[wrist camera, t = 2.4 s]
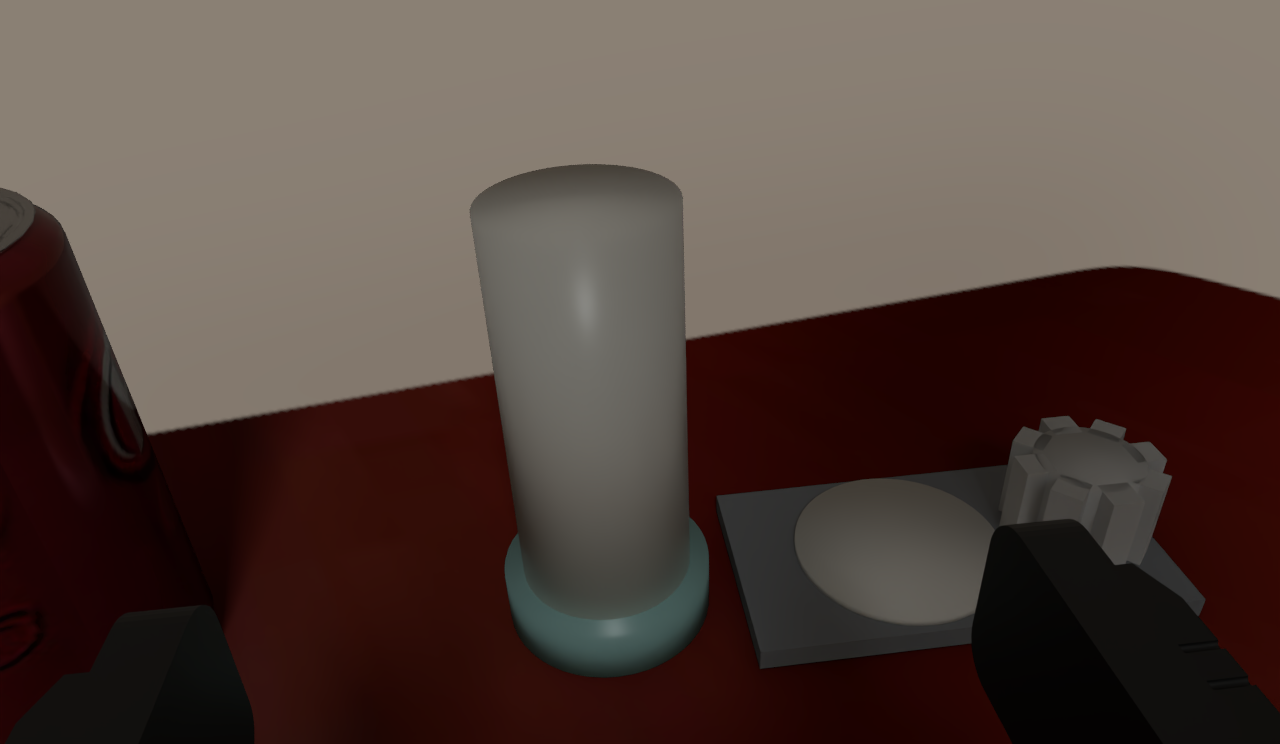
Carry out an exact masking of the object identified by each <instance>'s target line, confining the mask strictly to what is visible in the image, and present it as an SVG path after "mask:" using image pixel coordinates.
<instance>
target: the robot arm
mask: <svg viewBox="0 0 1280 744" xmlns="http://www.w3.org/2000/svg"><path fill="white" fill-rule="evenodd" d="M971 643H972V652H973V658H974V663H975V667H976V670H977V673H978V677H979V679H980V682H981V684H982V686H983V688H984V690H985V692H986V694H987V696H988V698H989V700H990V702H991V704H992V706H993V707H994V709H995V711H996V713H997V715H998V717H999V719H1000V721H1001V723H1002V724H1003V726H1004V728H1005V730H1006V732H1007V734H1008V736H1009V738H1010V740H1011V741H1012V743H1013V744H1280V713H1279V712H1278V711H1277V709H1276V708H1275V707H1274V706H1273V705H1272V704H1271V702H1270V701H1269V700H1268V699H1267V698H1266V696H1265V695H1264V694H1263V693H1262V692H1261V690H1260V689H1259V688H1258V687H1257V686H1256V685H1253V686H1251V685H1250V683H1249V681H1248V675H1247V674H1246V673H1245V671H1244V670H1243V669H1242V668H1241V667H1240V666H1239V664H1238V663H1237V662H1236V661H1235V660H1234V658H1233V657H1232V656H1231V655H1230V654H1229V652H1228V651H1227V650H1226V649H1220V648H1219V646H1218V639H1217V638H1216V637H1215V636H1214V635H1213V633H1212V632H1211V631H1210V630H1209V629H1208V628H1207V626H1206V625H1205V624H1204V623H1203V622H1202V620H1201V619H1200V618H1199V617H1198V616H1197V614H1196V613H1195V612H1194V611H1193V610H1192V609H1191V607H1190V606H1189V605H1188V604H1187V603H1186V601H1185V600H1184V599H1183V598H1182V597H1181V596H1179V595H1178V594H1176V593H1175V592H1174V591H1172V590H1171V589H1169V588H1168V587H1166V586H1165V585H1163V584H1162V583H1160V582H1159V581H1158V580H1156V579H1155V578H1153V577H1152V576H1150V575H1149V574H1147V573H1146V572H1145V571H1143V570H1142V569H1140V568H1139V567H1137V566H1136V565H1134V564H1133V563H1129V564H1120V565H1114V563H1113V562H1112V561H1111V559H1110V558H1109V557H1108V556H1107V554H1106V553H1105V552H1104V551H1103V549H1102V548H1101V547H1100V546H1099V544H1098V543H1097V542H1096V540H1095V539H1094V538H1093V537H1092V535H1091V534H1090V533H1089V532H1088V530H1087V529H1086V528H1085V527H1084V526H1083V525H1082V524H1080V523H1079V522H1078V521H1076V520H1074V519H1060V520H1050V521H1041V522H1031V523H1021V524H1011V525H1003V526H999V527H998V528H997V529H996V530H995V531H994V533H993V535H992V537H991V541H990V545H989V550H988V554H987V559H986V564H985V568H984V573H983V578H982V582H981V587H980V591H979V596H978V601H977V605H976V610H975V615H974V619H973V624H972V632H971ZM5 744H254V721H253V713H252V709H251V705H250V702H249V699H248V697H247V694H246V691H245V689H244V686H243V683H242V681H241V678H240V675H239V673H238V670H237V668H236V665H235V662H234V660H233V657H232V654H231V652H230V649H229V646H228V644H227V641H226V639H225V636H224V633H223V631H222V628H221V625H220V623H219V620H218V618H217V616H216V614H215V612H214V611H213V609H212V608H211V607H209V606H207V605H197V606H187V607H177V608H168V609H158V610H148V611H138V612H129V613H125V614H123V615H122V616H120V617H119V618H118V619H117V620H116V622H115V623H114V625H113V626H112V628H111V630H110V632H109V634H108V636H107V638H106V640H105V642H104V644H103V646H102V648H101V650H100V652H99V654H98V656H97V658H96V660H95V662H94V664H93V666H92V668H91V670H90V672H85V673H75V674H66V675H63V676H62V677H61V678H60V679H59V680H58V681H57V682H56V683H55V684H54V685H53V686H52V687H51V688H50V689H49V690H48V691H47V692H46V693H45V694H44V695H43V696H42V697H41V698H40V699H39V700H38V701H37V702H36V703H35V704H34V705H33V706H32V707H31V708H30V709H29V710H28V711H27V712H26V713H25V715H24V716H23V717H22V718H21V719H20V720H19V721H18V722H17V723H16V724H15V726H14V727H13V729H12V731H11V733H10V735H9V737H8V738H7V740H6V742H5Z"/></svg>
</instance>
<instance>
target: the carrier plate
mask: <svg viewBox="0 0 1280 744" xmlns="http://www.w3.org/2000/svg"><path fill="white" fill-rule="evenodd" d="M1125 432H1126V428H1123V427H1120V426H1117V425H1114V424H1110V423H1107V422H1104V421H1101V420H1098V419H1096V420H1095V421H1094V423H1093V425H1092V426H1091V428H1082V427H1078V426H1077V425H1076V423H1075V422H1074V421H1073V420H1072V419H1071V418H1070V417H1069V416H1061V417H1052V418H1042V419H1041V423H1040V427H1039V432H1038V431H1035V430H1032V429H1029V428H1026V427H1023V428H1022V429H1021V430H1020V432H1019V433H1018V435H1017V436H1016V437H1015V439H1014V440H1013V443H1012V448H1011V453H1010V457H1009V462H1008V465H1001V466H992V467H983V468H973V469H964V470H955V471H945V472H936V473H926V474H917V475H908V476H898V477H889V478H880V479H879V478H877V479H864V480H857V481H852V482H842V483H833V484H823V485H814V486H805V487H795V488H786V489H777V490H767V491H758V492H748V493H739V494H730V495H720V496H717V514H718V518H719V522H720V525H721V529H722V533H723V536H724V540H725V543H726V547H727V551H728V554H729V558H730V562H731V565H732V569H733V572H734V576H735V580H736V583H737V587H738V590H739V594H740V598H741V601H742V605H743V609H744V612H745V616H746V619H747V623H748V627H749V630H750V634H751V638H752V641H753V645H754V648H755V652H756V656H757V659H758V663H759V666H760V669H763V668H771V667H779V666H787V665H796V664H804V663H812V662H821V661H829V660H837V659H846V658H854V657H862V656H870V655H879V654H887V653H895V652H904V651H912V650H920V649H928V648H937V647H945V646H953V645H962V644H970V643H971V632H972V624H973V619H974V615H975V610H976V605H977V601H978V596H979V591H980V587H981V582H982V578H983V573H984V568H985V564H986V559H987V554H988V550H989V545H990V541H991V537H992V535H993V533H994V531H995V530H996V529H997V528H998V527H999V526H1003V525H1011V524H1021V523H1031V522H1041V521H1050V520H1060V519H1074V520H1076V521H1078V522H1079V523H1080V524H1082V525H1083V526H1084V527H1085V528H1086V529H1087V530H1088V532H1089V533H1090V534H1091V535H1092V537H1093V538H1094V539H1095V540H1096V542H1097V543H1098V544H1099V546H1100V547H1101V548H1102V549H1103V551H1104V552H1105V553H1106V554H1107V556H1108V557H1109V558H1110V559H1111V561H1112V562H1113V563H1114V565H1120V564H1129V563H1133V564H1134V565H1136V566H1137V567H1139V568H1140V569H1142V570H1143V571H1145V572H1146V573H1147V574H1149V575H1150V576H1152V577H1153V578H1155V579H1156V580H1158V581H1159V582H1160V583H1162V584H1163V585H1165V586H1166V587H1168V588H1169V589H1171V590H1172V591H1174V592H1175V593H1176V594H1178V595H1179V596H1181V597H1182V598H1183V599H1184V600H1185V601H1186V603H1187V604H1188V605H1189V606H1190V607H1191V609H1192V610H1193V611H1194V612H1195V613H1196V614H1197V616H1199V614H1200V612H1201V609H1202V607H1203V604H1204V602H1205V598H1204V597H1203V596H1202V595H1201V593H1200V592H1199V591H1198V590H1197V589H1196V588H1195V586H1194V585H1193V584H1192V583H1191V582H1190V580H1189V579H1188V578H1187V577H1186V576H1185V575H1184V573H1183V572H1182V571H1181V570H1180V569H1179V568H1178V566H1177V565H1176V564H1175V563H1174V562H1173V561H1172V559H1171V558H1170V557H1169V556H1168V555H1167V553H1166V552H1165V551H1164V550H1163V549H1162V548H1161V546H1160V545H1159V544H1158V543H1157V542H1156V541H1155V539H1154V538H1153V537H1152V534H1153V531H1154V528H1155V526H1156V523H1157V520H1158V517H1159V514H1160V511H1161V508H1162V505H1163V502H1164V499H1165V496H1166V493H1167V490H1168V487H1169V484H1170V481H1171V478H1172V476H1170V475H1167V474H1164V473H1163V470H1164V467H1165V464H1166V461H1167V459H1166V458H1165V457H1164V456H1163V455H1162V454H1161V453H1160V452H1159V451H1158V450H1157V449H1156V448H1155V447H1154V446H1153V445H1152V444H1151V443H1150V442H1142V443H1133V444H1129V443H1128V442H1126V441H1124V440H1123V439H1124V435H1125Z"/></svg>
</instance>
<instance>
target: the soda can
mask: <svg viewBox="0 0 1280 744" xmlns="http://www.w3.org/2000/svg"><path fill="white" fill-rule="evenodd" d="M197 605H207V606H209V607H211V608H212V609H213V611H214V607H213V598H212V594H211V591H210V589H209V587H208V584H207V582H206V579H205V577H204V574H203V572H202V569H201V567H200V564H199V562H198V559H197V557H196V554H195V552H194V550H193V547H192V545H191V542H190V540H189V537H188V535H187V532H186V530H185V527H184V525H183V522H182V520H181V517H180V515H179V513H178V510H177V508H176V505H175V503H174V500H173V498H172V495H171V493H170V490H169V488H168V485H167V483H166V480H165V478H164V476H163V473H162V471H161V468H160V466H159V463H158V461H157V458H156V456H155V453H154V451H153V448H152V446H151V443H150V441H149V438H148V436H147V434H146V431H145V429H144V426H143V424H142V422H141V419H140V416H139V414H138V412H137V409H136V406H135V404H134V401H133V399H132V397H131V394H130V392H129V389H128V387H127V384H126V382H125V379H124V377H123V374H122V372H121V369H120V367H119V365H118V362H117V360H116V357H115V355H114V352H113V350H112V347H111V345H110V342H109V340H108V337H107V335H106V332H105V330H104V327H103V325H102V323H101V320H100V318H99V315H98V313H97V310H96V308H95V305H94V303H93V300H92V298H91V296H90V293H89V290H88V288H87V286H86V283H85V281H84V278H83V276H82V273H81V271H80V268H79V266H78V263H77V261H76V258H75V256H74V254H73V251H72V249H71V246H70V244H69V241H68V239H67V236H66V234H65V232H64V230H63V228H62V226H61V224H60V223H59V222H58V220H56V218H54V216H53V215H51V214H50V213H48V212H47V211H45V210H44V209H42V208H40V207H38V206H36V205H33V204H32V202H31V201H30V200H28V199H27V198H25V197H23V196H22V195H20V194H18V193H17V192H13V191H10V190H6V189H3V188H0V744H5V742H6V740H7V738H8V737H9V735H10V733H11V731H12V729H13V727H14V726H15V724H16V723H17V722H18V721H19V720H20V719H21V718H22V717H23V716H24V715H25V713H26V712H27V711H28V710H29V709H30V708H31V707H32V706H33V705H34V704H35V703H36V702H37V701H38V700H39V699H40V698H41V697H42V696H43V695H44V694H45V693H46V692H47V691H48V690H49V689H50V688H51V687H52V686H53V685H54V684H55V683H56V682H57V681H58V680H59V679H60V678H61V677H62V676H63V675H66V674H75V673H85V672H90V670H91V668H92V666H93V664H94V662H95V660H96V658H97V656H98V654H99V652H100V650H101V648H102V646H103V644H104V642H105V640H106V638H107V636H108V634H109V632H110V630H111V628H112V626H113V625H114V623H115V622H116V620H117V619H118V618H119V617H120V616H122V615H123V614H125V613H129V612H138V611H148V610H158V609H168V608H177V607H187V606H197Z"/></svg>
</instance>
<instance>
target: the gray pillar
mask: <svg viewBox="0 0 1280 744" xmlns="http://www.w3.org/2000/svg"><path fill="white" fill-rule="evenodd" d="M470 218H471V225H472V231H473V238H474V244H475V250H476V258H477V264H478V271H479V277H480V284H481V291H482V297H483V304H484V311H485V316H486V324H487V330H488V337H489V343H490V350H491V356H492V363H493V370H494V376H495V383H496V390H497V396H498V403H499V409H500V416H501V423H502V429H503V436H504V442H505V449H506V456H507V462H508V469H509V475H510V482H511V489H512V495H513V502H514V508H515V515H516V522H517V528H518V533H517V535H516V536H515V538H514V539H513V541H512V543H511V545H510V547H509V549H508V552H507V556H506V560H505V579H506V585H507V591H508V597H509V603H510V609H511V615H512V620H513V623H514V627H515V630H516V632H517V634H518V636H519V638H520V639H521V641H522V642H523V643H524V645H525V646H526V647H527V648H528V649H529V650H530V651H531V652H532V653H533V654H534V655H535V656H537V657H538V658H539V659H541V660H542V661H544V662H545V663H547V664H549V665H551V666H553V667H555V668H557V669H560V670H562V671H565V672H569V673H572V674H576V675H581V676H588V677H620V676H625V675H631V674H635V673H639V672H642V671H646V670H649V669H651V668H654V667H656V666H658V665H660V664H662V663H664V662H666V661H668V660H670V659H671V658H673V657H674V656H675V655H677V654H678V653H680V652H681V651H682V650H683V649H684V648H685V647H686V646H687V645H689V644H690V643H691V641H692V640H693V639H694V638H695V636H696V635H697V634H698V632H699V630H700V629H701V627H702V625H703V623H704V621H705V618H706V616H707V611H708V606H709V553H708V547H707V543H706V540H705V538H704V535H703V534H702V532H701V530H700V528H699V527H698V526H697V525H696V523H695V522H694V521H693V520H692V519H691V518H690V517H689V489H688V440H687V390H686V340H685V291H684V243H683V197H682V193H681V191H680V189H679V188H678V187H677V186H676V185H675V184H674V183H673V182H672V181H670V180H669V179H667V178H665V177H663V176H661V175H659V174H656V173H653V172H650V171H646V170H643V169H638V168H633V167H626V166H618V165H601V164H585V165H569V166H559V167H552V168H546V169H541V170H536V171H532V172H527V173H524V174H520V175H517V176H514V177H511V178H508V179H506V180H503V181H501V182H499V183H497V184H495V185H493V186H491V187H489V188H488V189H486V190H485V191H483V192H482V193H481V194H479V195H478V197H477V198H476V199H475V200H474V201H473V203H472V204H471V208H470Z"/></svg>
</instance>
